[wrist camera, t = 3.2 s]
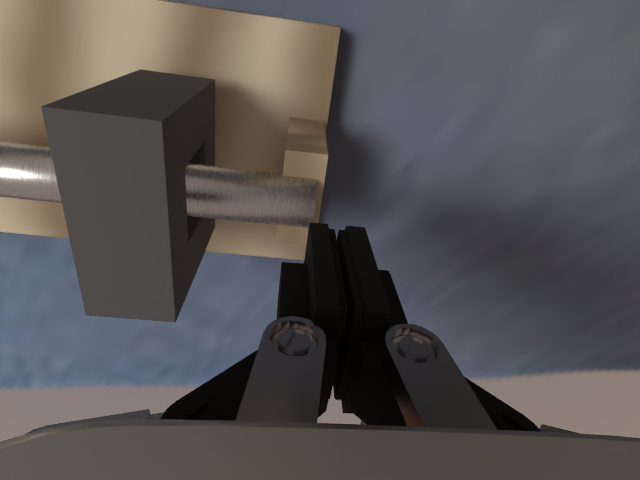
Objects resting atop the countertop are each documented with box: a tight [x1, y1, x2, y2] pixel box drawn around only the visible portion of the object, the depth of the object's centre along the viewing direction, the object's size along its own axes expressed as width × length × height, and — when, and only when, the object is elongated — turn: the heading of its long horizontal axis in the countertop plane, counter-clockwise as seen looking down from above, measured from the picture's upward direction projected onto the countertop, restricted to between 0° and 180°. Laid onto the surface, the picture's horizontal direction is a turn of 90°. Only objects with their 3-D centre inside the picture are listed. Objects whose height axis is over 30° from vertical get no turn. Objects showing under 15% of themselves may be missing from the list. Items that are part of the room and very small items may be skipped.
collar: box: [41, 69, 215, 322], centre depth 15 cm, size 3×7×7 cm, turn 173°
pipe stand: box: [0, 0, 341, 260], centre depth 17 cm, size 25×12×6 cm, turn 82°
